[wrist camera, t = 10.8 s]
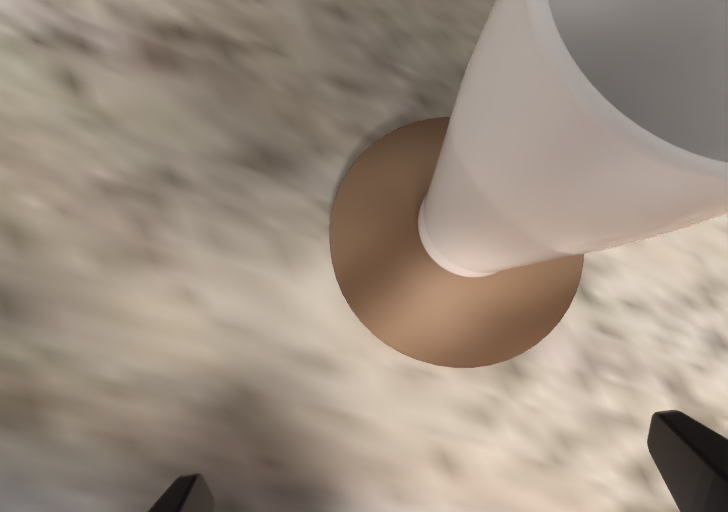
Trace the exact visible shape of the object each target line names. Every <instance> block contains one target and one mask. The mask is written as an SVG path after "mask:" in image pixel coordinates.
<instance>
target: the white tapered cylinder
mask: <svg viewBox="0 0 728 512" xmlns="http://www.w3.org/2000/svg"><path fill="white" fill-rule="evenodd" d="M727 213H728V0H496V2H495V4H494V6H493V8H492V10H491V12H490V14H489V17H488V19H487V21H486V23H485V25H484V28H483V30H482V32H481V35H480V37H479V39H478V42H477V44H476V46H475V49H474V51H473V53H472V56H471V58H470V61H469V63H468V66H467V68H466V71H465V74H464V77H463V79H462V82H461V85H460V88H459V91H458V94H457V97H456V101H455V104H454V107H453V110H452V114H451V117H450V120H449V124H448V127H447V130H446V134H445V137H444V140H443V144H442V147H441V151H440V154H439V157H438V160H437V164H436V167H435V170H434V173H433V176H432V180H431V183H430V186H429V189H428V191H427V193H426V195H425V197H424V199H423V201H422V203H421V206H420V210H419V214H418V231H419V235H420V239H421V242H422V244H423V246H424V248H425V250H426V251H427V253H428V254H429V256H430V257H431V258H432V259H433V260H434V261H435V262H436V263H437V264H438V265H439V266H441V267H442V268H444V269H445V270H447V271H449V272H451V273H453V274H456V275H459V276H464V277H473V278H477V277H485V276H489V275H493V274H495V273H498V272H500V271H503V270H507V269H511V268H516V267H520V266H525V265H530V264H535V263H540V262H545V261H550V260H555V259H560V258H565V257H570V256H575V255H581V254H586V253H591V252H596V251H601V250H605V249H610V248H615V247H619V246H623V245H627V244H632V243H636V242H639V241H643V240H646V239H650V238H653V237H657V236H660V235H664V234H667V233H670V232H674V231H677V230H680V229H683V228H687V227H690V226H693V225H696V224H699V223H702V222H705V221H707V220H710V219H713V218H716V217H719V216H722V215H724V214H727Z"/></svg>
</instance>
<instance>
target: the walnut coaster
mask: <svg viewBox="0 0 728 512" xmlns="http://www.w3.org/2000/svg"><path fill="white" fill-rule="evenodd" d="M449 120H450V117H444V118H434V119H427V120H423V121H418V122H414V123H411V124H409V125H406V126H403V127H400V128H398V129H396V130H394V131H393V132H391V133H389V134H387V135H385V136H384V137H382V138H381V139H379V140H378V141H377V142H375V143H374V144H372V145H371V146H370V147H369V148H368V149H367V150H366V151H365V152H364V153H363V154H362V155H361V156H360V157H359V158H358V159H357V161H356V162H355V163H354V164H353V166H352V167H351V168H350V170H349V172H348V173H347V175H346V176H345V178H344V180H343V182H342V184H341V186H340V188H339V191H338V193H337V196H336V199H335V202H334V206H333V209H332V215H331V222H330V250H331V258H332V264H333V268H334V272H335V275H336V279H337V281H338V284H339V286H340V289H341V291H342V294H343V296H344V297H345V299H346V301H347V303H348V304H349V306H350V308H351V309H352V311H353V312H354V313H355V315H356V316H357V317H358V318H359V320H360V321H361V322H362V323H363V324H364V325H365V326H366V327H367V328H368V329H369V330H370V331H371V332H372V333H373V334H374V335H375V336H376V337H378V338H379V339H380V340H381V341H383V342H384V343H385V344H387V345H388V346H390V347H392V348H394V349H395V350H397V351H399V352H400V353H402V354H405V355H407V356H410V357H412V358H414V359H417V360H420V361H423V362H427V363H431V364H434V365H439V366H446V367H454V368H474V367H481V366H488V365H492V364H496V363H499V362H503V361H506V360H509V359H511V358H513V357H515V356H517V355H520V354H522V353H524V352H525V351H527V350H528V349H530V348H531V347H533V346H535V345H536V344H537V343H539V342H540V341H541V340H542V339H543V338H544V337H546V336H547V335H548V334H549V333H550V332H551V331H552V330H553V329H554V327H555V326H556V325H557V324H558V323H559V322H560V320H561V319H562V317H563V316H564V314H565V313H566V311H567V310H568V308H569V306H570V304H571V302H572V300H573V298H574V296H575V294H576V291H577V288H578V285H579V281H580V278H581V273H582V267H583V261H584V254H581V255H575V256H570V257H565V258H560V259H555V260H550V261H545V262H540V263H535V264H530V265H525V266H520V267H516V268H511V269H507V270H503V271H500V272H498V273H495V274H493V275H489V276H485V277H477V278H473V277H464V276H459V275H456V274H453V273H451V272H449V271H447V270H445V269H444V268H442V267H441V266H439V265H438V264H437V263H436V262H435V261H434V260H433V259H432V258H431V257H430V256H429V254H428V253H427V251H426V250H425V248H424V246H423V244H422V242H421V239H420V235H419V231H418V214H419V210H420V206H421V203H422V201H423V199H424V197H425V195H426V193H427V191H428V189H429V186H430V183H431V180H432V176H433V173H434V170H435V167H436V164H437V160H438V157H439V154H440V151H441V147H442V144H443V140H444V137H445V134H446V130H447V127H448V124H449Z"/></svg>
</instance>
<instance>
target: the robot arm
mask: <svg viewBox="0 0 728 512" xmlns="http://www.w3.org/2000/svg"><path fill="white" fill-rule="evenodd" d="M647 444H648V449H649V452H650V454H651V456H652V458H653V460H654V462H655V464H656V466H657V468H658V470H659V472H660V473H661V475H662V477H663V479H664V481H665V483H666V485H667V487H668V489H669V491H670V493H671V495H672V497H673V499H674V501H675V502H676V504H677V506H678V508H679V510H680V512H728V439H727V438H725V437H723V436H721V435H720V434H718V433H716V432H715V431H713V430H711V429H710V428H708V427H706V426H705V425H703V424H701V423H699V422H698V421H696V420H694V419H693V418H691V417H689V416H688V415H686V414H684V413H682V412H680V411H678V410H668V411H660V412H655V413H654V414H653V415H652V419H651V424H650V429H649V434H648V439H647ZM214 511H215V500H214V497H213V494H212V492H211V490H210V489H209V487H208V485H207V483H206V481H205V479H204V477H203V475H202V474H200V473H192V474H184V475H181V476H179V477H178V478H177V479H176V480H175V481H174V482H173V483H172V485H171V486H170V487H169V488H168V489H167V490H166V491H165V493H164V494H163V495H162V496H161V497H160V498H159V499H158V501H157V502H156V503H155V504H154V505H153V506H152V508H151V509H150V510H149V511H148V512H214Z"/></svg>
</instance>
